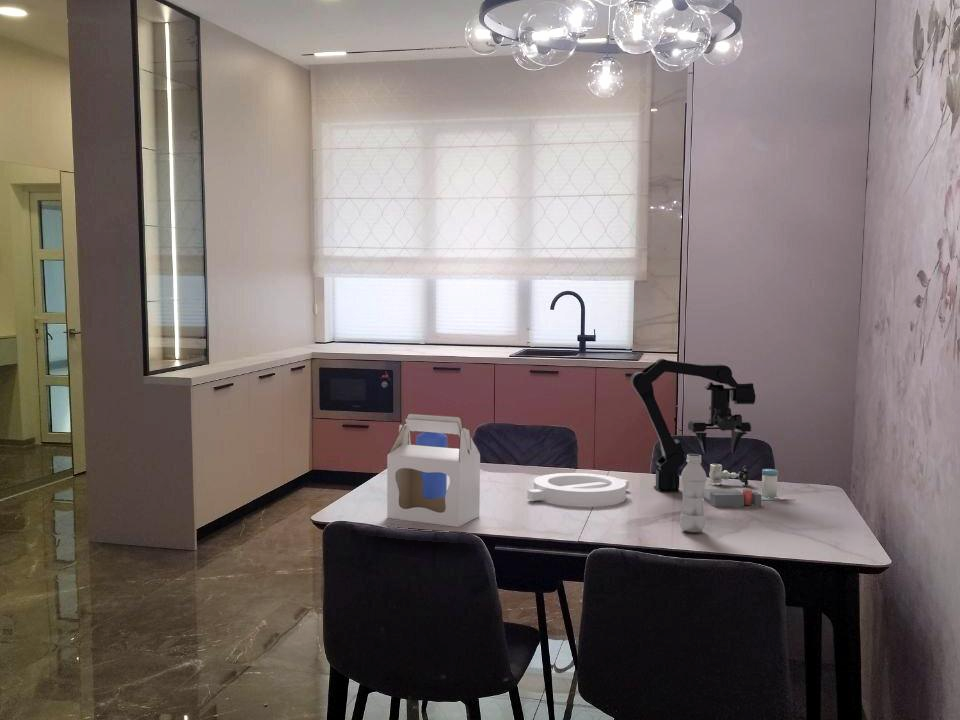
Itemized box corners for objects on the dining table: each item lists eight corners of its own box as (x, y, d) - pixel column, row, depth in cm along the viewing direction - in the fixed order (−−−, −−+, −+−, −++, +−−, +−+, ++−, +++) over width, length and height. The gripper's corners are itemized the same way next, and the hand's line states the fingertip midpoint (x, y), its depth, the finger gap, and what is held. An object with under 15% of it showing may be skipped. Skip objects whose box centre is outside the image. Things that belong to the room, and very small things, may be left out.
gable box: (385, 518, 230) (386, 415, 228) (409, 507, 242) (410, 410, 240) (459, 527, 220) (460, 421, 219) (480, 516, 232) (481, 415, 231)
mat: (756, 500, 255) (757, 499, 255) (744, 493, 265) (744, 492, 265) (795, 500, 256) (795, 499, 256) (781, 493, 266) (781, 492, 266)
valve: (710, 486, 275) (748, 487, 274) (711, 466, 275) (749, 467, 273) (707, 482, 282) (744, 483, 280) (708, 462, 281) (745, 463, 280)
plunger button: (744, 504, 247) (744, 491, 247) (740, 502, 250) (741, 489, 250) (753, 504, 248) (753, 491, 247) (749, 502, 250) (749, 489, 250)
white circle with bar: (524, 503, 249) (525, 488, 249) (543, 485, 276) (543, 470, 276) (620, 511, 242) (620, 494, 241) (630, 490, 269) (630, 476, 268)
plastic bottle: (700, 528, 222) (702, 452, 220) (708, 535, 215) (710, 457, 214) (676, 528, 221) (678, 452, 220) (683, 535, 215) (685, 457, 213)
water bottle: (409, 500, 250) (410, 416, 249) (426, 494, 258) (426, 413, 257) (436, 504, 246) (437, 419, 244) (452, 498, 254) (453, 415, 252)
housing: (714, 506, 246) (715, 495, 246) (692, 492, 265) (692, 481, 265) (761, 506, 247) (761, 494, 247) (735, 492, 267) (735, 481, 266)
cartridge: (776, 498, 257) (777, 472, 257) (760, 496, 259) (761, 471, 259) (778, 495, 261) (778, 469, 261) (762, 493, 263) (763, 468, 263)
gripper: (700, 407, 258) (698, 458, 259) (759, 407, 259) (757, 457, 260) (688, 403, 269) (686, 451, 270) (744, 403, 270) (743, 451, 271)
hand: (718, 453), depth 267 cm, fingers open, 9 cm apart
